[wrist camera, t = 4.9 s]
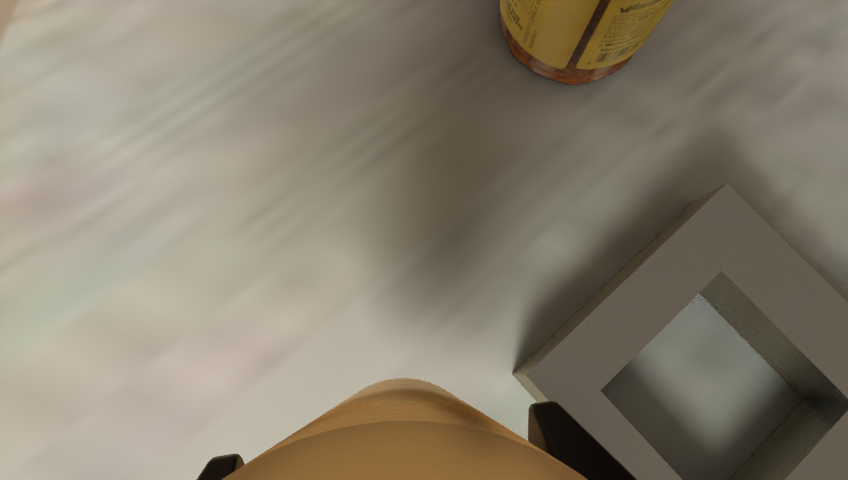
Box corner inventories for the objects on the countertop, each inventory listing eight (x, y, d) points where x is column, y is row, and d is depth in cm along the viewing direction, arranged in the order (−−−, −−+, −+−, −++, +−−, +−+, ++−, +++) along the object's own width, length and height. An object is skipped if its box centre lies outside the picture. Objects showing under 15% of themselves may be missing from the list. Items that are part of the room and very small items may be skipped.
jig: (1034, 542, 22) (1115, 566, 19) (860, 761, 20) (924, 817, 18) (693, 201, 24) (727, 182, 21) (512, 373, 22) (525, 375, 20)
